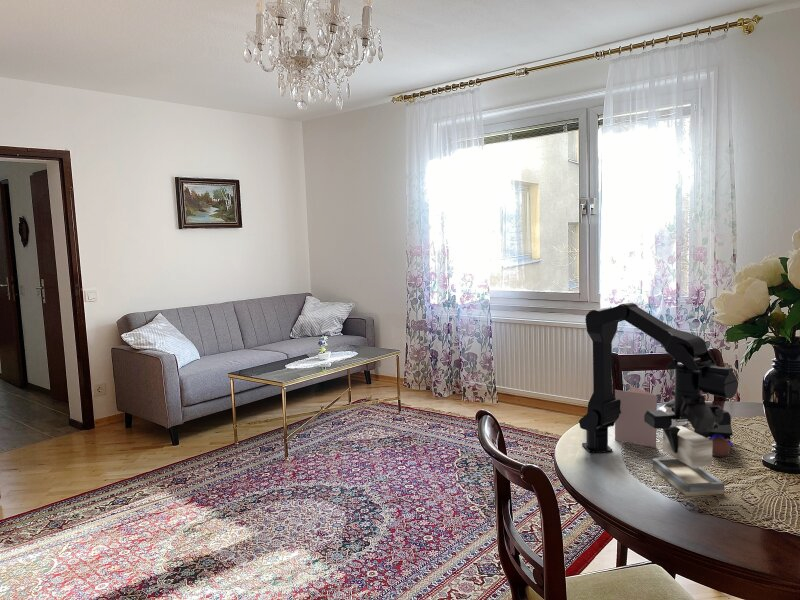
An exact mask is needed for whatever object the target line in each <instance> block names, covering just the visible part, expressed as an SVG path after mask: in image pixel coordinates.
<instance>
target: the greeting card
mask: <svg viewBox="0 0 800 600" xmlns="http://www.w3.org/2000/svg"><path fill="white" fill-rule="evenodd" d="M614 396H615V398H616V399H620V401H621V404H620V410H621V414H619V418H618V419H617V420H616V421H615V423H614V440H615V441H618V442H622V443H623V442H624V443H628V442H629V444H635V445H640V446H645V447H650V448H657V429H656V428H653V427H652V426H650V425H649V424H648V423H646V422H645V421H644V415H645V413H646V412H647V411H651V410H658V407H657V405H658V395H656V394H654V393H652V392H648V391H645V390H643V389H641V388H637V387H635V386H633V385H629V391H627V390H626V391H625V390H619V389H614Z"/></svg>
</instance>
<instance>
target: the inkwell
mask: <svg viewBox="0 0 800 600" xmlns="http://www.w3.org/2000/svg"><path fill="white" fill-rule="evenodd" d="M672 407H674V398H672V399H671V400H669V401H667V402H666V403H665V404H663V406H660V407H658V408H657V410H662V411H663V412H665V413H666V414H674V412H673V411H671V409H672ZM687 424H688V421H685V422H676V426H686V425H687Z"/></svg>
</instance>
